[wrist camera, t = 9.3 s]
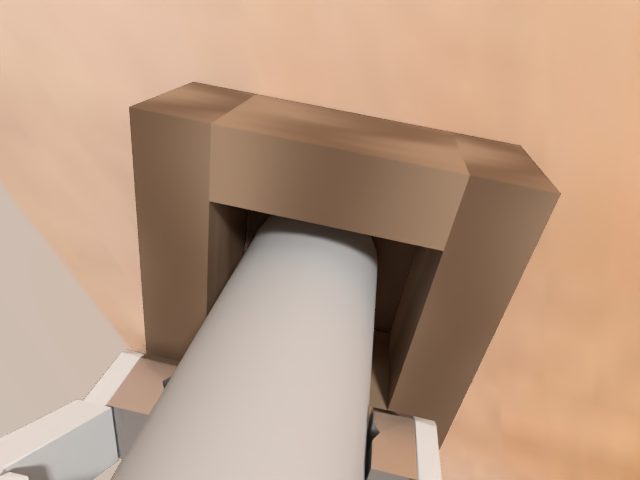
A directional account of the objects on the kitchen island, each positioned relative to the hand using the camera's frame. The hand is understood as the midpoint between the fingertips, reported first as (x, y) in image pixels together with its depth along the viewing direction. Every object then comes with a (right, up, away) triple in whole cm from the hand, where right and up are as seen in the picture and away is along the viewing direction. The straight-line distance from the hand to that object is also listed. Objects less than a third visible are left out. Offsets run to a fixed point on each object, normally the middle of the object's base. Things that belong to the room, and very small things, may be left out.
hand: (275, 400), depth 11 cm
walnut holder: (+1, +3, +6) cm, 7 cm away
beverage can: (+1, +4, +6) cm, 8 cm away
